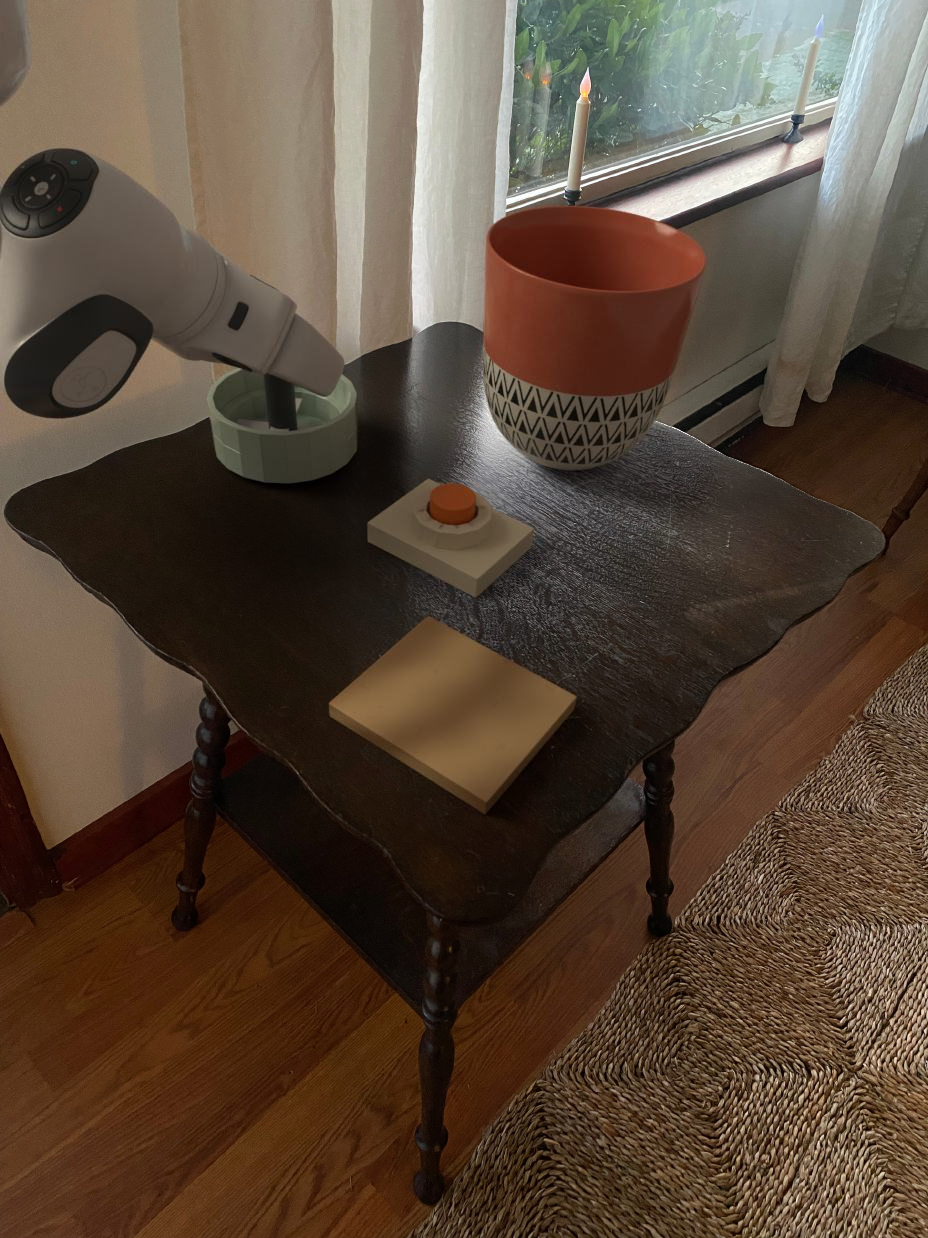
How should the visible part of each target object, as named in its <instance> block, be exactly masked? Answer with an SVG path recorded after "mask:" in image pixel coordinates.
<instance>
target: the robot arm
mask: <svg viewBox="0 0 928 1238" xmlns="http://www.w3.org/2000/svg"><path fill="white" fill-rule="evenodd" d="M29 24H30V23H29V16H28V11H27V4H26V0H0V108H2V107H4V105H6V104H7V103H8V102H9V101H10V100H11V99H12V97H14V96H15V95H16V93H17V92H18V91H19V89H20V88H21V86H22V84H23V83H24V81H25V79H26V78H27V76H28V74H29V70H30V68H31V66H32V62H33V57H32V44H31V34H30V25H29ZM297 308H298V305H297V303H296V301H294V299H292V298H291V296H289V295H288V294H286V293H284V292H282V291H280V290H279V289H278V288H276V287H274V286H272V285H270V284H268V283H267V282H264V281H263V280H261V279H260V278H257V277H255V275H253V274H249V273H248V272H246V271H245V270H244V269H243V268H242V267H241V266H240V265H238V264H237V263H236V262H234V260H233V259H231V258H230V257H229V256H227V255H224V254H223V253H222V252H221V251H220V250H218V249H217V248H216V247H215V246H214V245H213V244H211V243H210V242H209V241H208V240H206V238H204V237H203V236H202V235H201V234H199V233H198V232H197V231H194V230H192V229H190V228H187V227H185V226H182V225H181V223H180V221H179V220H178V218H177V216H176V215H175V213H173V211H172V210H171V209H170V208H169V207H168V206H167V205H166V204H165V202H162V201H161V200H160V199H159V198H158V197H156V196H155V195H154V194H153V192H150V191H149V190H148V189H147V188H146V187H145V186H143V185H142V184H140V183H139V182H138V181H136V180H135V178H132V177H131V176H130V175H128V174H127V173H125V172H124V171H122V170H121V169H119V168H118V167H116V166H115V165H114V164H112V163H110V162H108V161H106V160H105V159H103V158H100V157H99V156H97V155H95V154H92V153H89V152H87V151H84V150H81V149H75V148H71V147H70V148H69V147H57V148H50V149H45V150H42V151H39V152H37V153H35V154H34V155H33V154H32V155H31V156H29V157H28V158H26V159H25V160H24V161H22V162H21V163H19V164H18V166H17V167H15V168H14V170H13V171H12V172H11V173H10V175H9V176H8V177H7V179H6V180H5V182H3V179H2V175H1V174H0V388H1V390H2V392H4V393H5V394H6V396H7V397H8V398H9V400H10V401H11V403H12V404H13V405H15V407H16V408H18V409H19V410H21V411H22V412H25V413H26V414H29V415H32V416H35V417H39V418H44V419H52V420H53V419H55V420H57V419H59V420H61V419H63V420H64V419H71V418H76V417H81V416H85V415H87V414H90V413H92V412H95V411H96V410H99V409H100V408H101V407H103V406H105V405H106V404H107V403H109V402H110V401H111V400H112V399H113V398H114V397H115V396H116V395H117V394H118V393H119V392H120V390H121V389H123V387H124V385H125V384H126V383H127V382H128V380H129V379H130V377H131V376H132V374H133V372H134V371H135V369H136V367H137V366H138V364H139V363H140V361H141V360H142V358H143V356H144V354H145V352H147V349H148V347H149V345H150V343H151V340H152V341H154V342H155V343H156V344H158V345H159V346H162V348H165V349H166V350H168V351H169V352H171V353H172V354H174V355H176V357H179V358H181V359H184V360H187V361H193V362H194V361H195V362H199V361H203V362H207V363H215V364H223V365H227V366H230V367H234V368H240V369H243V370H246V371H249V372H254V373H256V374H259V375H265V374H266V373H268V374H271V375H273V376H275V377H278V378H280V379H282V380H285V381H287V382H290V383H292V384H294V385H297V386H299V387H301V388H304V389H306V390H308V391H310V392H312V393H314V394H317V395H319V396H322V397H327V396H329V395H330V394H331V393H332V392H333V390H334V389H335V387H336V385H337V383H338V381H339V379H340V377H341V374H343V372H344V369H345V359H344V356H343V355H342V354H341V352H340V351H339V350H338V349H336V347H335V346H334V345H333V344H332V343H331V342H330V341H329V340H328V339H327V338H326V337H325V336H324V334H322V333H321V332H320V331H319V330H318V329H317V328H316V327H314V325H312V324H311V323H310V322H309V321H308V320H307V319H305V318H303V317H302V316H301V315H299V314H297V313H296V311H297V310H298V309H297Z"/></svg>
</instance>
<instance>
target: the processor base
mask: <svg viewBox="0 0 928 1238" xmlns="http://www.w3.org/2000/svg"><path fill="white" fill-rule="evenodd" d="M439 485H442V484H441V483H439V482H437V481H434V480H433V479H430V478H427V479H425V480H423V481H422V482H421V483H420V484H419V485H417V486H415V487H414V488H413V489H411V490H410V491H409V492H407V493H406V494H405V495H404V496H402V497H400V498H399V499H398V500H396V501H395V502H394V503H392V504H391V505H390V506H388V507H387V508H385V509H384V510H383V511H381V512H380V513H379V514H377V515H376V516H374V517H373V518H371V519H370V520H369V521H368V522H367V524H366V527H367V543H369V544H371V545H373V546H375V547H377V548H379V549H381V550H382V551H385V552H387V553H389V554H390V555H393V556H395V557H397V558H398V559H400V560H402V561H404V562H406V563H408V564H409V565H411V566H414V567H416V568H418V569H420V570H421V571H423V572H425V573H426V574H429V575H430V576H433V577H434V578H436V579H439V580H440V581H442V582H444V583H446V584H448V585H450V586H452V587H453V588H456V589H458V590H460V591H461V592H463V593H466V594H468V595H469V596H471V597H473V598H475V599H476V598H478V597H479V596H480V595H481V594H482V593H483V592H484V591H485V590H486V589H487V588H489V587H490V586H491V585H492V584H493V583H494V582H495V581H496V580H497V579H498V578H499V577H501V576H502V575H503V574H505V572H506V571H507V570H508V569H509V568H511V566H513V565H514V564H515V563H516V562H517V561H518V560H519V559H520V558H522V557H523V556H524V554H526V553H527V552H528V551H529V550H530V549H531V548H532V547H533V540H534V533H535V528H534V527H533V526H530V525H529V524H526V523H524V522H522V521H520V520H518V519H516V518H513V517H511V516H509V515H507V514H505V513H502V512H501V511H498V510H496V509H494V508H493V507H492V505H491V503H490V502H489V501H488V500H487V499H486V498H485V496H484V495H483V494H480V493H478V492H476V491H474V490H472V491H473V492H474V493H475V495H476V506H475V516H474V518H473V519H472V520H471V521H470V522H469V523H466V524H461V525H457V526H455V525H446V524H442V523H440V522H438V521H436V520H434V519H433V518H432V517H431V515H430V494H431V492H432V490H433V489H434V488H436V487H437V486H439Z"/></svg>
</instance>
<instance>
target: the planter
mask: <svg viewBox="0 0 928 1238" xmlns="http://www.w3.org/2000/svg"><path fill="white" fill-rule="evenodd" d="M485 237H486V238H485V249H484V250H485V253H484V290H483V294H484V297H483V321H482V322H483V324H482V326H483V327H482V328H483V329H482V381H483V387H484V393H485V398H486V403H487V407H488V411H489V412H490V415H491V418H492V420H493V422H494V424H495V426H496V428H497V429H498V431H499V432H500V433H501V435H502V437H504V439H505V440H506V441H507V442H508V443H509V444H510V445H511V446H512V447H513V448H514V449H515V450H516V451H518V452H519V453H520V454H521V455H523V456H524V457H526V458H527V459H529V460H531V461H533V462H535V463H537V464H539V465H542V466H545V467H548V468H550V469H555V470H561V471H562V470H563V471H583V470H590V469H593V468H594V469H595V468H597V467H601V466H604V465H606V464H609V463H611V462H613V461H615V460H616V459H618V458H620V457H622V456H624V455H625V454H626V453H628V452H630V451H631V450H632V449H633V448H635V447H636V446H637V445H638V444H639V443H640V442H641V441H642V440H643V439H644V437H645V436H646V435H647V433H648V432H649V431H650V429H651V427H652V426H653V424H654V423H655V421H656V419H657V417H658V415H659V413H660V412H661V410H662V408H663V406H664V403H665V400H666V398H667V395H668V393H669V390H670V386H671V383H672V380H673V377H674V374H675V372H676V371H675V370H676V368H677V364H678V362H679V361H678V360H679V358H680V356H681V352H682V349H683V345H684V343H685V342H684V341H685V338H686V335H687V332H688V329H689V325H690V322H691V319H692V316H693V313H694V309H695V306H696V304H697V300H698V297H699V294H700V290H701V288H702V287H701V286H702V284H703V280H704V276H705V273H706V270H707V269H706V268H707V265H708V260H707V255H706V253H705V251H704V250H703V249H704V248H702V246H701V245H700V244H699V243H698V242H697V241H696V240H694V239H693V238H692V237H691V236H689V235H688V234H686V233H685V232H683V231H681V230H680V229H677V228H675V227H674V226H672V225H669V224H667V223H664V222H661V221H659V220H656V219H653V218H650V217H647V216H644V215H641V214H636V213H632V212H627V211H622V210H618V209H612V208H604V207H596V206H583V205H582V206H581V205H552V206H551V205H550V206H541V207H534V208H528V209H523V210H519V211H517V212H513V213H511V214H510V213H509V214H508V215H505V216H504V217H502V218H501V217H500V219H498V220H497V221H495V223H493V224H492V225H491V226H490V227H489V229H488V231H487V232H486V236H485Z"/></svg>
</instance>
